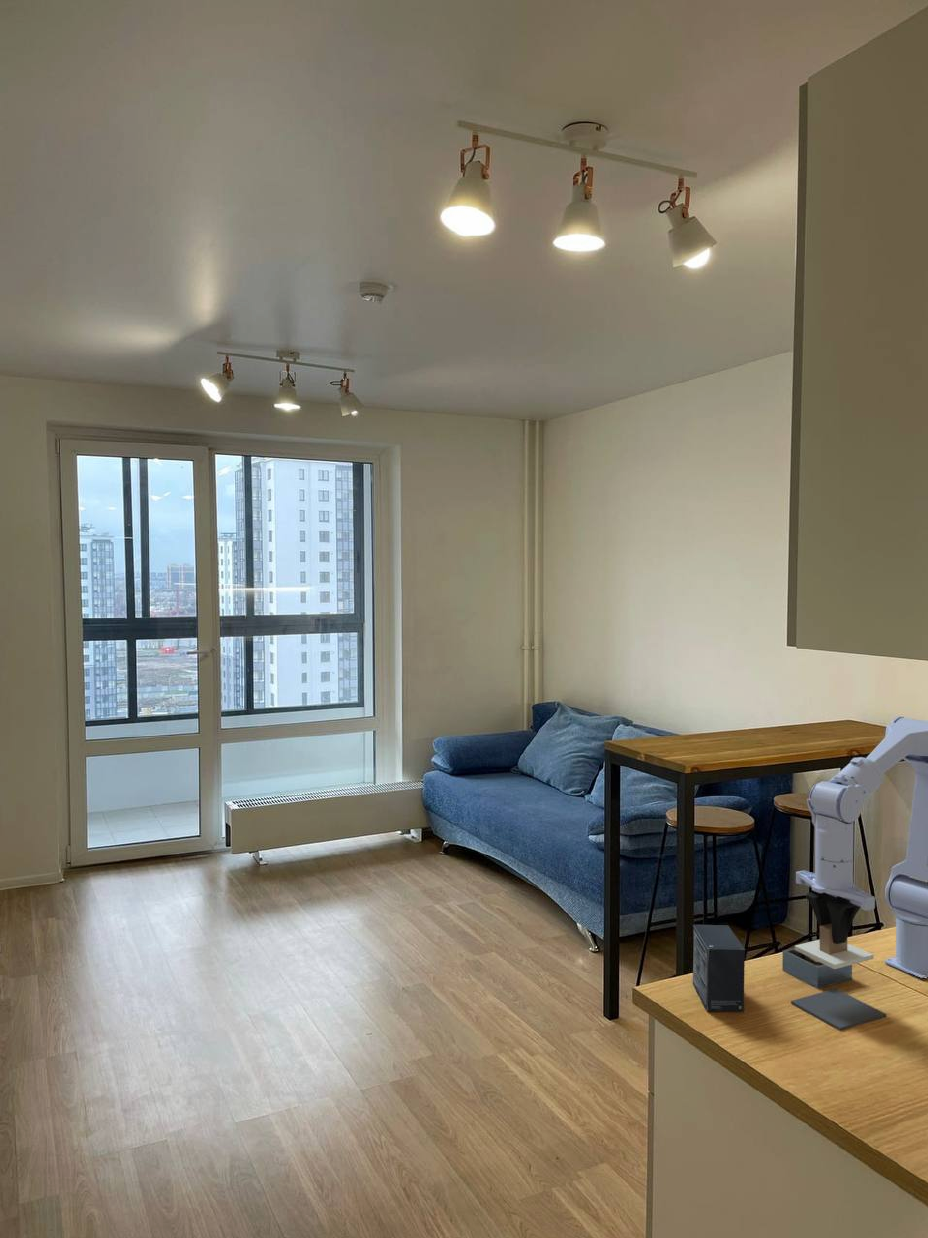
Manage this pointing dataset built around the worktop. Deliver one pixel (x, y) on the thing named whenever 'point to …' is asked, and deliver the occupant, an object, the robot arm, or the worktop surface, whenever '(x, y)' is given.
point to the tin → (813, 969)
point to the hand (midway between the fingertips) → (833, 939)
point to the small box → (718, 968)
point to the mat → (838, 1009)
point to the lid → (832, 950)
